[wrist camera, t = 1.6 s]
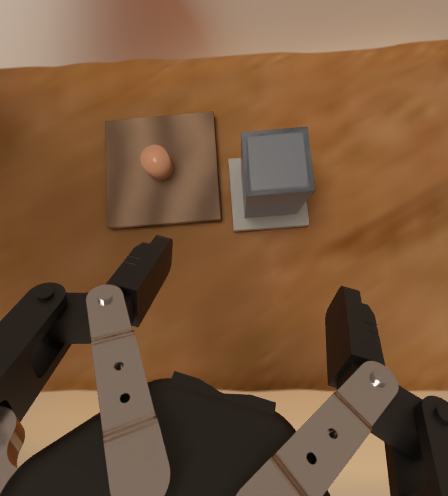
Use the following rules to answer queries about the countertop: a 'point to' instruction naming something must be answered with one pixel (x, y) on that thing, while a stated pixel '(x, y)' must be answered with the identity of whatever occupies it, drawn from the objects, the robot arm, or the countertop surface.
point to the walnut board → (168, 191)
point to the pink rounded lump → (157, 162)
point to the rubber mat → (258, 222)
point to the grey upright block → (275, 171)
